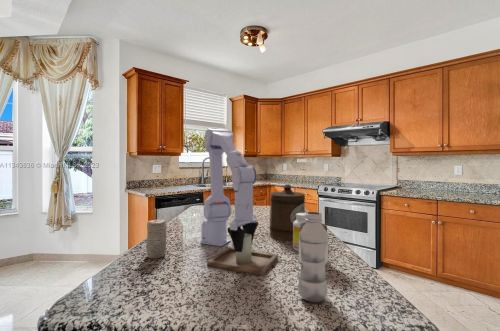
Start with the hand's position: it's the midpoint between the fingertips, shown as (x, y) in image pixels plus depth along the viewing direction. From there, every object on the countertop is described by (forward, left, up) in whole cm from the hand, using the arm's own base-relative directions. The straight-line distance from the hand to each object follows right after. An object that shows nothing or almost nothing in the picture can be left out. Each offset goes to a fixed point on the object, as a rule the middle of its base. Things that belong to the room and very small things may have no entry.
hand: (243, 247), depth 83 cm
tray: (0, 0, -5) cm, 5 cm away
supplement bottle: (+14, +20, -5) cm, 25 cm away
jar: (+20, +9, -5) cm, 22 cm away
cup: (0, 0, -4) cm, 4 cm away
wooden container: (+4, +35, -5) cm, 36 cm away
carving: (-29, -7, -5) cm, 30 cm away
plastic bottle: (+24, -13, -5) cm, 28 cm away
